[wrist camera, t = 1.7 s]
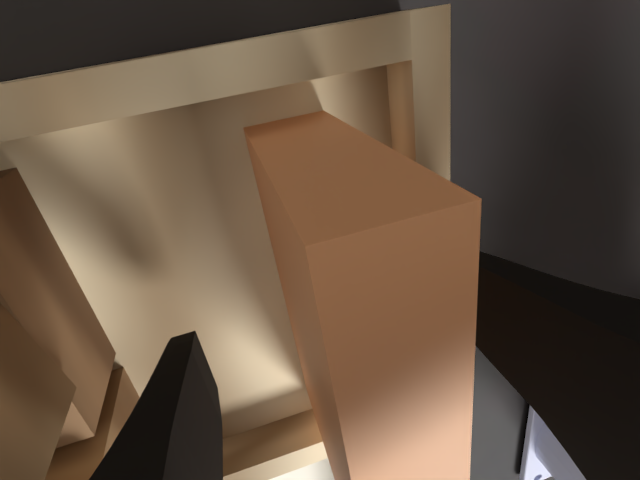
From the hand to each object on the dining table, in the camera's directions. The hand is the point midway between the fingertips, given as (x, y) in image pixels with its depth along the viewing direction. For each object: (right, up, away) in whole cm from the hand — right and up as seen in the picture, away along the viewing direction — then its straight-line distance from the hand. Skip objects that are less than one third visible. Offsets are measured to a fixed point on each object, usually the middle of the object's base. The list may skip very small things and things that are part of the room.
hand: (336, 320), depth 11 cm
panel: (-1, +1, +2) cm, 2 cm away
